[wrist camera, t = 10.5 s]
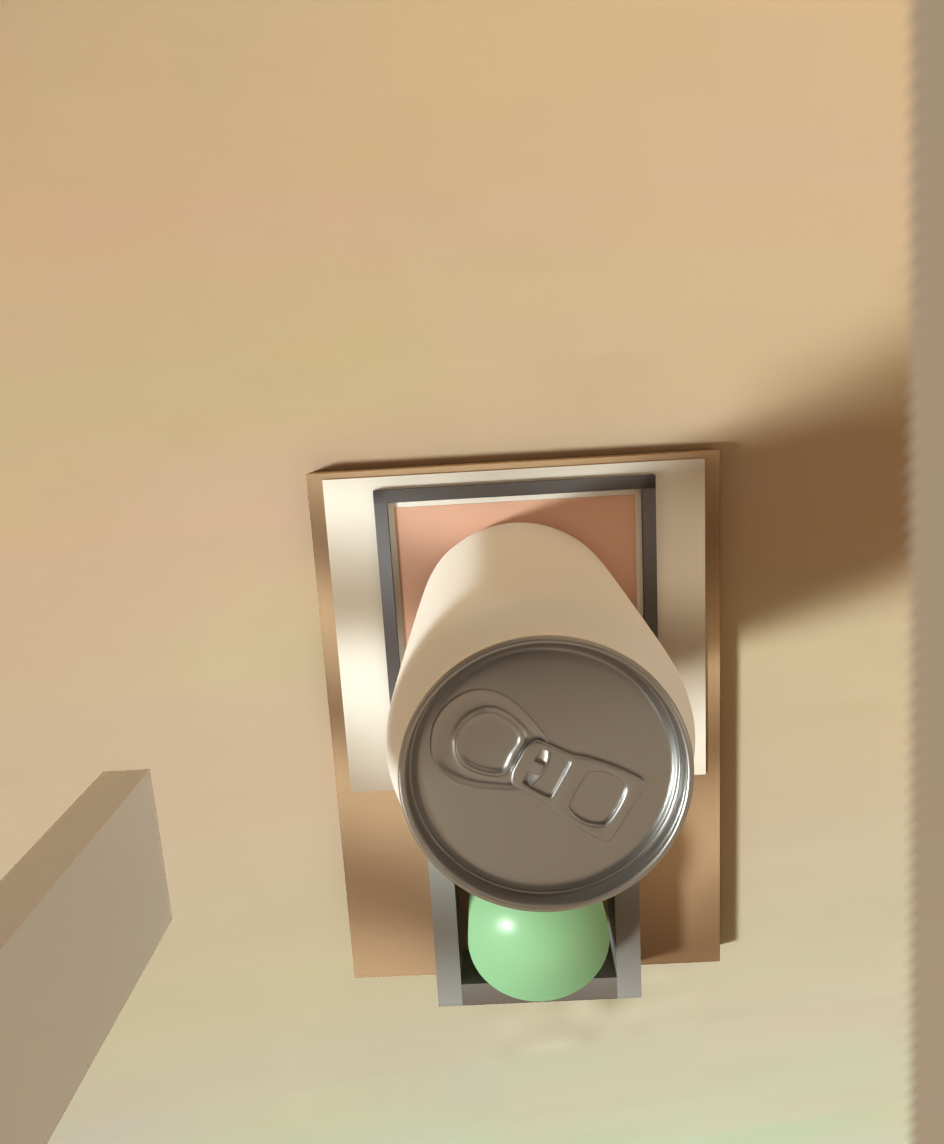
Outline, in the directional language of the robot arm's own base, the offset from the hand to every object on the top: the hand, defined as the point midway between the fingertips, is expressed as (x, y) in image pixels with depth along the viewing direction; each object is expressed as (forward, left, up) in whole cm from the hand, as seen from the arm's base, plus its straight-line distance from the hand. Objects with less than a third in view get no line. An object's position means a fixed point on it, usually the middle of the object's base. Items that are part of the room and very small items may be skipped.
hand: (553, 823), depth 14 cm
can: (0, 0, -14) cm, 14 cm away
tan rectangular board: (+4, 0, -15) cm, 16 cm away
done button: (+10, 0, -13) cm, 16 cm away
